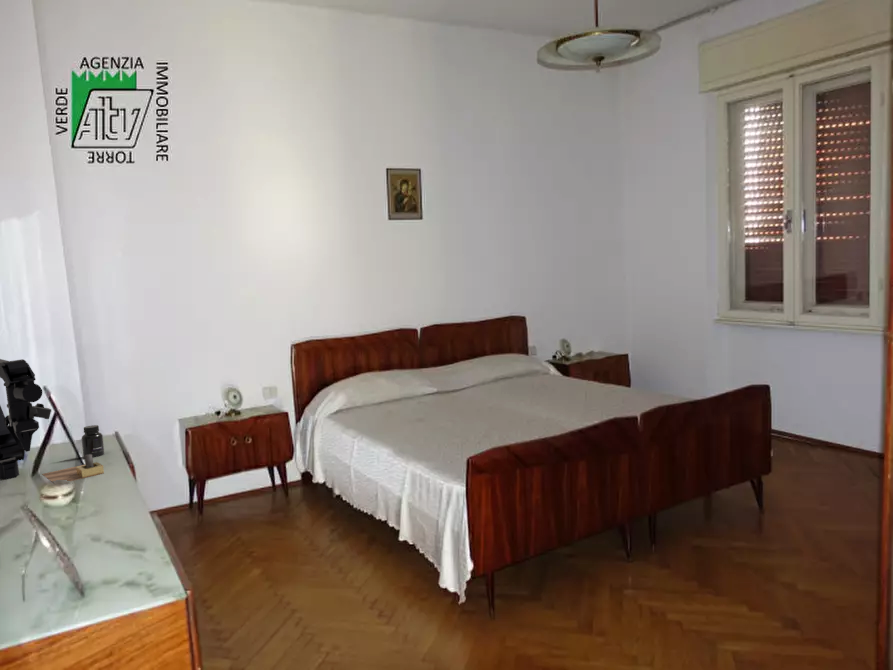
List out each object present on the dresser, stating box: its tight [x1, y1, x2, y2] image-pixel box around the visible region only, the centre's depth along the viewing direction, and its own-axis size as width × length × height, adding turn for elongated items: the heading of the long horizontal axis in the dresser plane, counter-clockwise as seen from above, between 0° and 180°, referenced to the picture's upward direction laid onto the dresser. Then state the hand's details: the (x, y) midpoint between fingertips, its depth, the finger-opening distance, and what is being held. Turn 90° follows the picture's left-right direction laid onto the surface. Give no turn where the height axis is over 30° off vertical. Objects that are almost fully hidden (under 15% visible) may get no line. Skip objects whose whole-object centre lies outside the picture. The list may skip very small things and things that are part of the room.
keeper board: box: [41, 454, 105, 483], centre depth 227 cm, size 18×14×8 cm
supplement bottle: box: [81, 424, 105, 459], centre depth 249 cm, size 7×7×12 cm
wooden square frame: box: [75, 461, 105, 479], centre depth 226 cm, size 6×6×2 cm
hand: (24, 449), depth 220 cm, fingers open, 9 cm apart
